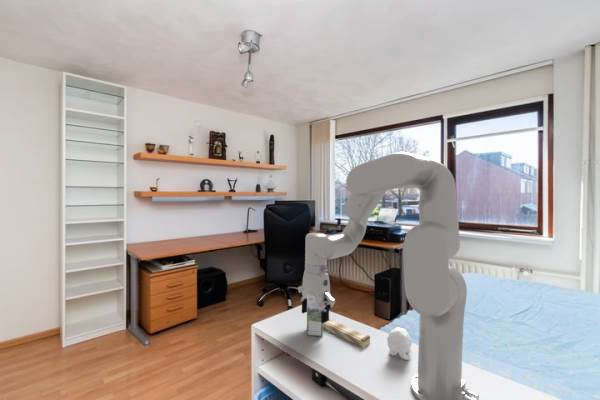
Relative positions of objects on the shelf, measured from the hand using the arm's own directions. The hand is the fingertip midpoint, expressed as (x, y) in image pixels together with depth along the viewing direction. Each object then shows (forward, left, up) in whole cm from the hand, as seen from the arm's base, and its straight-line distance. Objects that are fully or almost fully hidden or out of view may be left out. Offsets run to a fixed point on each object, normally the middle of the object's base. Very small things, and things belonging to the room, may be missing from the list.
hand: (314, 316), depth 97 cm
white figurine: (-26, -12, -6) cm, 29 cm away
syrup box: (0, 0, -6) cm, 6 cm away
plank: (-6, -7, -5) cm, 10 cm away
